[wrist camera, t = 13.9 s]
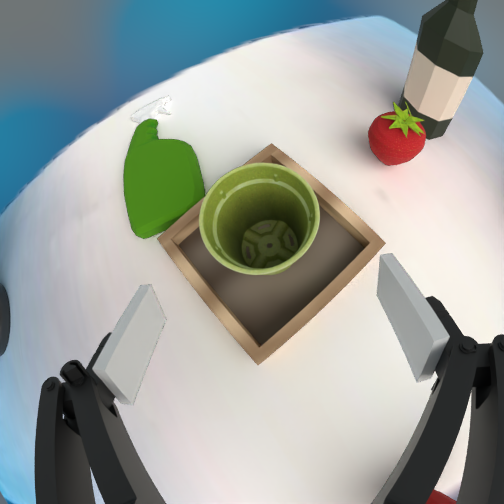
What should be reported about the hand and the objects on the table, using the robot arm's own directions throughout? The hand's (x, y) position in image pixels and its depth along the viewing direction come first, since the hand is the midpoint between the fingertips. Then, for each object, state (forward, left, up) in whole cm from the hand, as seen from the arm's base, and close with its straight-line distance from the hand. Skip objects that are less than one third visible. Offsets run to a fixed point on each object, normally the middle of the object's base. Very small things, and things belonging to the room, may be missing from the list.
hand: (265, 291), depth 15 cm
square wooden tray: (-6, +4, -13) cm, 15 cm away
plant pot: (-6, +4, -13) cm, 14 cm away
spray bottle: (-27, +1, -14) cm, 30 cm away
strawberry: (-4, +22, -13) cm, 26 cm away
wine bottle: (-5, +34, -13) cm, 37 cm away
